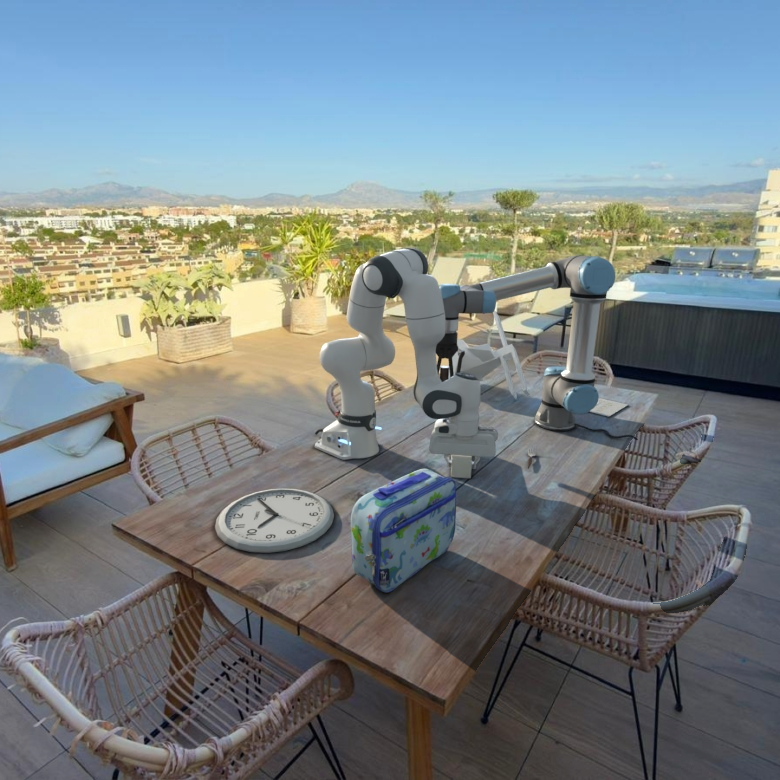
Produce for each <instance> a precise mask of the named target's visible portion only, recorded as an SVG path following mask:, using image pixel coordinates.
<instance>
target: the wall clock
mask: <svg viewBox="0 0 780 780" xmlns="http://www.w3.org/2000/svg"><path fill="white" fill-rule="evenodd" d="M334 518H335V514H334V509H333V507H332V506H331V504H330V503H329V502H328V501H327V499H325V498H323V497H321V496H320V495H318V494H316V493H313V492H311V491H307V490H304V489H296V488H270V489H265V490H260V491H256V492H252V493H250V494H246V495H244V496H242V497H240V498H238V499H236V500H234V501H232V502H231V503H229V504H228V505H227V506H226V507H224V508H223V509H222V510H221V511H220V513H219V515H218V516H217V518H216V520H215V525H214V529H215V532H216V535H217V538H218V539H220V540H221V541H222V542H223V543H224V544H226V545H228V546H230V547H232V548H234V549H236V550H240V551H245V552H248V553H249V552H250V553H261V554H262V553H265V554H270V553H277V552H287V551H290V550H293V549H298V548H301V547H304V546H306V545H308V544H311V543H312V542H314V541H316V540H317V539H319V538H321V537H322V536H323V535H325V534H326V532H327V531H328V530H329V529H330V528H331V526H332V525H333V522H334Z"/></svg>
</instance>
